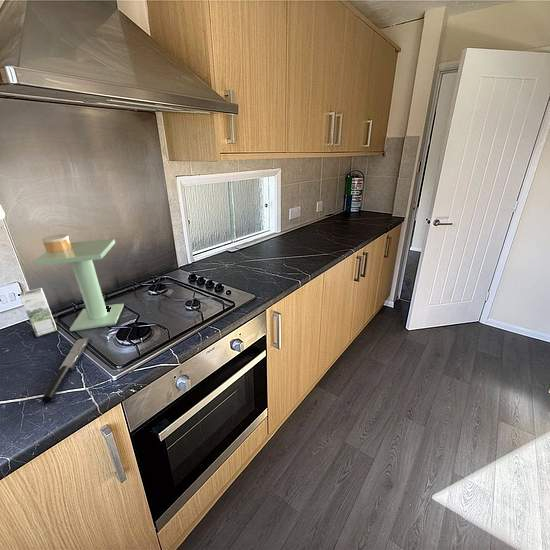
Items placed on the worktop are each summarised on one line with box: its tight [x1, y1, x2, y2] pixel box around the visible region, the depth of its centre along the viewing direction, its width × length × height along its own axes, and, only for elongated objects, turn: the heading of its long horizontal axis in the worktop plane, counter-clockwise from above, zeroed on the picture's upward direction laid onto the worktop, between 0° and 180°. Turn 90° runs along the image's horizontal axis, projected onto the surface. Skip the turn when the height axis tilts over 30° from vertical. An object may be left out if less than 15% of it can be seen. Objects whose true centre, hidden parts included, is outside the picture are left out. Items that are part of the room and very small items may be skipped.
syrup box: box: [19, 287, 58, 338], centre depth 96 cm, size 6×6×14 cm
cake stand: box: [32, 233, 125, 332], centre depth 99 cm, size 18×18×30 cm
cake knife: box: [41, 337, 90, 404], centre depth 80 cm, size 25×3×2 cm, turn 14°
